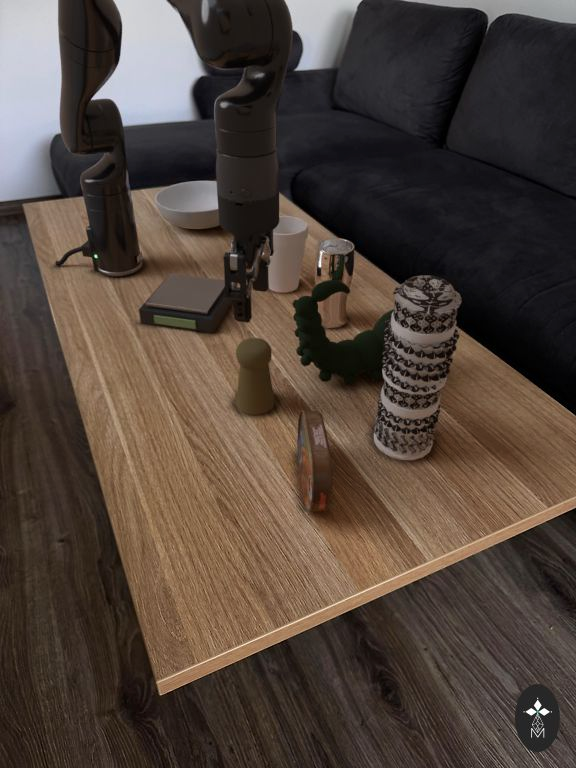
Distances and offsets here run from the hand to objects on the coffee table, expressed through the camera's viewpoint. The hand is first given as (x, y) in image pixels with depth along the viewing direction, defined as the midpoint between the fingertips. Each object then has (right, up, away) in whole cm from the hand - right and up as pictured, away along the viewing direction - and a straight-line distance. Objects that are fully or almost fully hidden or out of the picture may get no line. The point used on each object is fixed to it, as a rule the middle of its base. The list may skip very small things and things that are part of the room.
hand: (252, 304), depth 81 cm
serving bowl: (-17, +30, +67) cm, 75 cm away
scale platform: (-14, +6, +31) cm, 34 cm away
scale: (-14, +4, +33) cm, 36 cm away
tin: (+8, -24, -2) cm, 25 cm away
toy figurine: (+18, -9, +17) cm, 27 cm away
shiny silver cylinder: (+13, +1, +30) cm, 33 cm away
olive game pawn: (0, -14, +11) cm, 18 cm away
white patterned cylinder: (+22, -19, +4) cm, 29 cm away
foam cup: (+4, +9, +41) cm, 42 cm away
